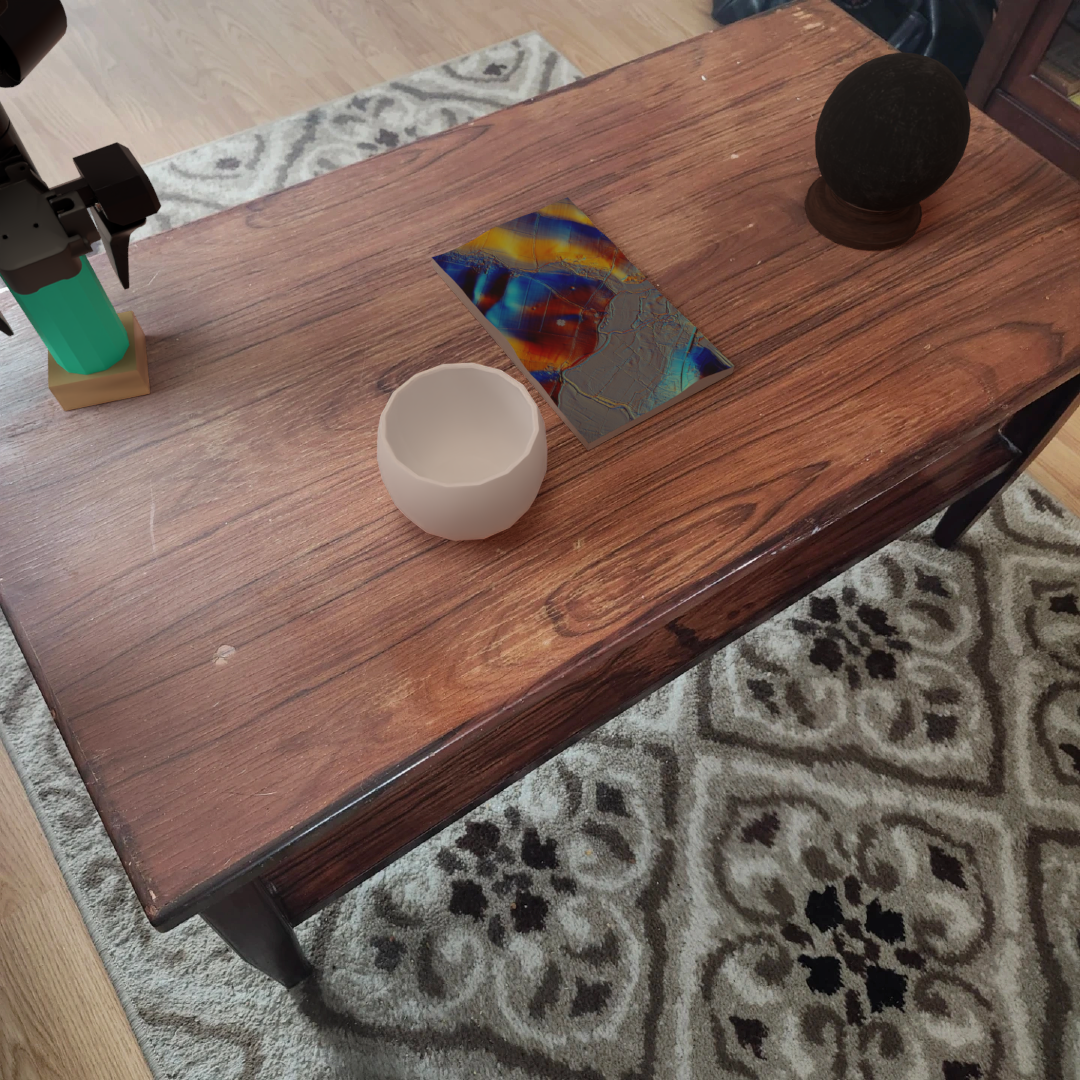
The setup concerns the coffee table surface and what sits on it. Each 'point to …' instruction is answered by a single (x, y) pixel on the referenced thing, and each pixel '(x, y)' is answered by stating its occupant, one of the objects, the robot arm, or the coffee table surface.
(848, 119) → the velvet ball on stand
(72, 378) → the maple block
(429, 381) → the cup
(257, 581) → the coffee table surface
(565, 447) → the coffee table surface
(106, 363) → the candle
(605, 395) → the relief map
